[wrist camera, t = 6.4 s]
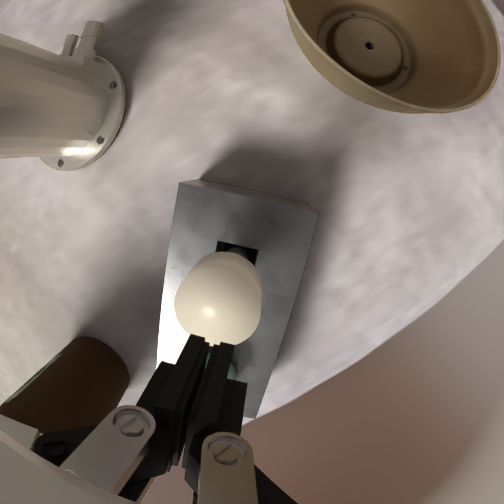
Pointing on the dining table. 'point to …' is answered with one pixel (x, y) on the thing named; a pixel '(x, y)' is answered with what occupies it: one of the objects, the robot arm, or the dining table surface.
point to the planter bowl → (401, 50)
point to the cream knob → (220, 298)
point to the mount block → (266, 262)
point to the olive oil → (71, 389)
